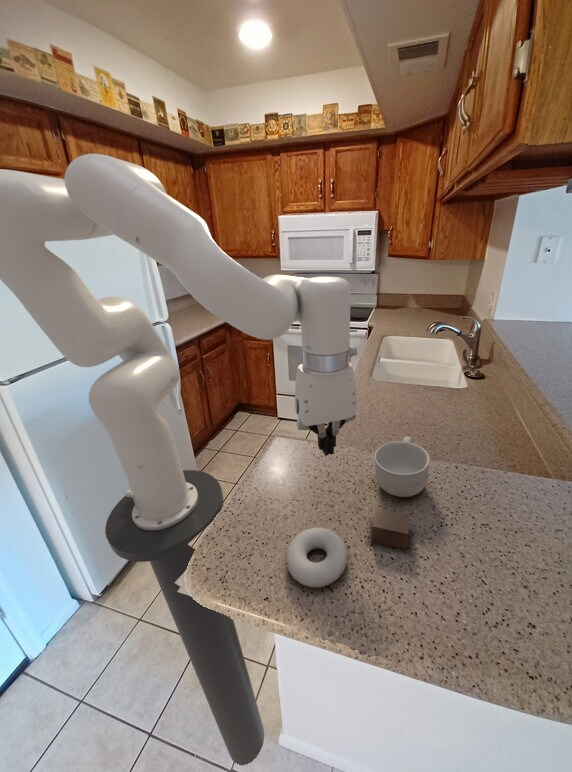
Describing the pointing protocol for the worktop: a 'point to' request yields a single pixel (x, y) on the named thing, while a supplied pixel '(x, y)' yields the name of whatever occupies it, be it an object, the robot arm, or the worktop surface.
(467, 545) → the worktop surface
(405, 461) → the teacup
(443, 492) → the worktop surface
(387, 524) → the block
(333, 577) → the donut
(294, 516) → the worktop surface
